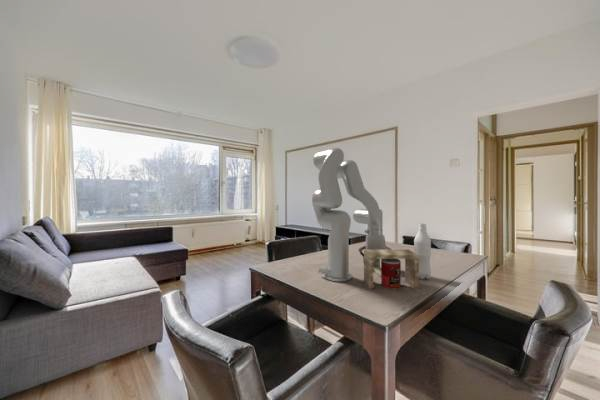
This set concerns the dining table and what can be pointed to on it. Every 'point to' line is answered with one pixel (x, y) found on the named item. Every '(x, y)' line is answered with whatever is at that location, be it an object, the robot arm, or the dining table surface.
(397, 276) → the canned food
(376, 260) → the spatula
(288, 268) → the dining table surface
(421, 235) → the water bottle
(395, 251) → the oak shelf
